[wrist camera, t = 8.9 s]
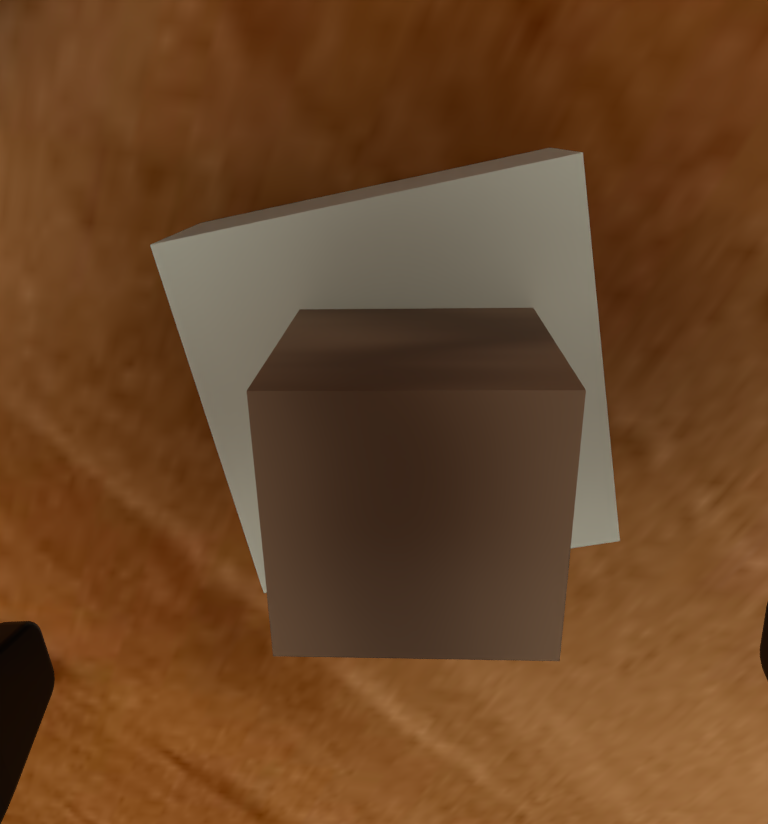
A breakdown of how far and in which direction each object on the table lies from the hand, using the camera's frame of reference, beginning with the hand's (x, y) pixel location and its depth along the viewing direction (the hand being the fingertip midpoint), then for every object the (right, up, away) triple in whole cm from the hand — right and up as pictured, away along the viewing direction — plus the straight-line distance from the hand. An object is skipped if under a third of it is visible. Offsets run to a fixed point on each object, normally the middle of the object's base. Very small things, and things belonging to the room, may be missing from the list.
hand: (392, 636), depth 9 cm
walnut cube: (+1, +3, +7) cm, 8 cm away
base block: (+1, +4, +11) cm, 12 cm away
